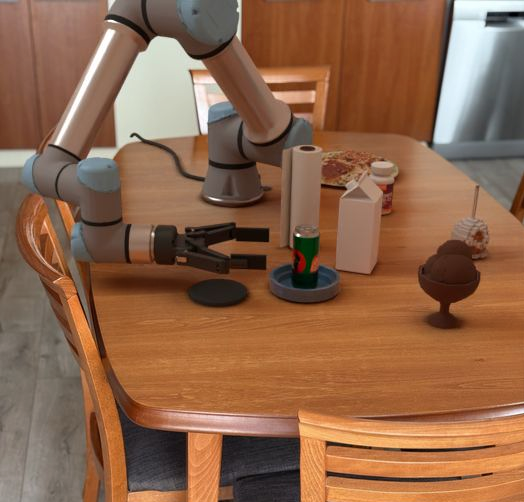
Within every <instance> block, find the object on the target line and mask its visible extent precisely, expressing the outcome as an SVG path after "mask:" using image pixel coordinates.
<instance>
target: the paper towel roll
mask: <svg viewBox="0 0 524 502" xmlns="http://www.w3.org/2000/svg"><path fill="white" fill-rule="evenodd" d="M322 153H323V148H322V147H320V146H317V145H313V144H312V145H300V146H295V147H291V148H289V149H286V150H283V159H282V169H281V196H280V197H281V198H280V228H279V229H280V235H279V248H284V247H286V246H288V245H289V248H290V249H292V250H293V232H294V231H295V227H296V226H298V225H301V224H311V225H315V226H317V227H318V229H319V227H320V205H321V190H322V189H321V188H322V187H321V186H322V184H321V170H322ZM319 230H320V229H319Z"/></svg>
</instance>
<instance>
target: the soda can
mask: <svg viewBox="0 0 524 502" xmlns="http://www.w3.org/2000/svg"><path fill="white" fill-rule="evenodd" d="M320 249H321V232H320V229H318V227H317V226H315V225H311V224H301V225H298V226H296V227H295V231H294V232H293V249H292V251H291V252H292V254H291V263H292V279H291V285H292V286H293V288H298V289H315V288H316V287H317V286H318V270H319V264H320Z"/></svg>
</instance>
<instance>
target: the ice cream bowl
mask: <svg viewBox="0 0 524 502" xmlns="http://www.w3.org/2000/svg"><path fill="white" fill-rule="evenodd" d="M481 273H482V272H481V271H479V270H477V267H476V264H475V262H474V261H473V259H472V249H471V248H470V247H469V246H468V245H467V244H466V243H465V242H463V241H461V240H450V239H447V240H446V241H445V242H443V243H442V244H441V245H439V246H438V247H437V249H436V253H434V254H433V255H431V256H429V257H428V258H427V260H425V263H423V264H421V265H419V266H418V270H417V282H418V284H419V286H420V288H421V290H422V291H423V292H424V293H425V294H426V295H428V296H429V297H430V298H431V299H433V300H434V301H436V302H439V310H438V311H435V312H433V313H431V314H429V315H428V317H427V323H428V324H430V325H431V326H432V327H435V328H439V329H453V328H456V327H457V326H458V325H459V318H458V317H456V316H455V315H453V314H452V313H451V312H450V307H451V305H452V304H456V303H459V302H460V301H463V300H465V299H467V298H469V297H471V296H472V295H473V294H475V292H476V291H477V289H478V288H479V285H480V282H481V276H482V275H481Z"/></svg>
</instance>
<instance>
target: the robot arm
mask: <svg viewBox="0 0 524 502" xmlns="http://www.w3.org/2000/svg"><path fill="white" fill-rule="evenodd" d="M238 1H239V0H114V1H113V3H112V5H111V6H110V8H109V10H108V12H107V13H106V15H105V17H104V19H103V21H102V23H101V27H102V31H103V33H102V35H101V37H100V39H99V41H98V43H97V45H96V47H95V49H94V51H93V53H92V55H91V57H90V59H89V61H88V63H87V65H86V67H85V69H84V71H83V73H82V75H81V77H80V79H79V81H78V83H77V86H76V87H75V89H74V91H73V93H72V95H71V97H70V100H69V101H68V103H67V105H66V107H65V109H64V111H63V113H62V115H61V117H60V119H59V121H58V123H57V125H56V127H55V130H54V131H53V133H52V135H51V137H50V139H49V141H48V143H47V146H46V147H45V149H44V151H43V153H35V154H33V155H31V156H30V157H29V158H27V159H26V160H25V162H24V164H23V166H22V171H21V172H22V173H21V174H22V176H21V177H22V181H23V183H24V185H25V186H26V188H27V189H28V190H29V191H31V192H34V193H35V194H38V195H39V196H42V197H44V198H48V199H52V200H56V201H60V202H63V203H65V204H68V205H72V206H75V207H77V208H78V207H79V208H80V217H81V221H78V222H75V223H74V224H73V225H72V228H71V231H70V250H71V254H72V257H73V258H74V259H75V260H76V261H79V262H83V263H93V264H97V265H98V264H128V265H130V264H133V265H138V266H140V267H143V266H144V265H153V264H154V263H155V264H156V265H158V266H175V265H176V266H181V267H190V268H194V269H197V270H201V271H206V272H210V273H214V274H218V275H230V272H231V270H245V271H246V270H248V271H267V256H268V255H267V254H257V253H256V254H255V253H254V254H253V253H230V255H227V254H225V253H222V252H220V251H217V250H214V249H211V248H210V246H214V245H216V244H221V243H225V242H230V241H233V240H235V242H238V243H239V242H240V243H241V242H242V243H268V244H269V243H270V230H271V229H270V227H250V226H249V227H248V226H247V227H246V226H237V222H235V221H230V222H223V223H216V224H215V223H213V224H207V225H200V226H199V225H198V226H186V227H184V233H179V232H178V228H177V226H176V225H174V224H157V225H156V226H155V225H154V224H153V223H124V221H123V220H124V219H123V204H122V201H123V199H122V181H121V175H120V168H119V164H118V163H117V162H116V160H114V159H112V158H109V157H100V156H96V157H95V156H94V157H93V156H92V157H88V156H89V154H90V152H91V150H92V148H93V147H94V144H95V142H96V140H97V138H98V136H99V134H100V132H101V130H102V128H103V126H104V124H105V123H106V120H107V118H108V116H109V114H110V112H111V110H112V108H113V106H114V104H115V102H116V100H117V98H118V96H119V94H120V92H121V90H122V88H123V86H124V84H125V82H126V80H127V78H128V76H129V74H130V72H131V70H132V69H133V66H134V64H135V62H136V60H137V57H138V56H139V54H140V53H144V52H147V50H148V48H149V46H150V44H151V42H152V41H153V40H154V39H155V38H157V37H160V38H161V37H162V38H169V39H174V40H175V41H177V42H178V44H179V45H180V46H181V49H182V50H183V51H184V52H185V53H186V55H187V56H188V57H189V58H190V59H192V60H195V61H201V63H202V65H203V66H204V67H205V68H206V70H207V72H208V73H209V74H210V76H211V77H212V78H213V80H214V82H215V83H216V85H217V86H218V87H219V89H220V90H221V92H222V93H223V95H224V96H225V98H226V99H227V100H226V101H225V100H224V101H221V102H216V103H214V104H212V105H210V107H209V109H208V111H207V121H206V125H207V152H208V153H207V154H208V155H207V156H208V167H207V170H206V174H205V176H199V175H194V174H191V173H189V172H186V171H184V170H183V167H182V164H181V163H180V159H179V157H178V156H177V155H178V154H176V152H175V151H174V150H173V149H172V148H170V147H168V146H166V145H165V144H162V143H160V142H157V141H153V140H150V139H147V138H144V137H142V136H141V135H140V134H139V133H138V132H132V133H130V135H129V138H134V137H136V138H137V139H138V140H139V141H140V142H143V143H145V144H149V145H152V146H155V147H159V148H161V149H163V150H165V151H167V152H168V153H170V154H171V156H172V157H173V159H174V161H175V165H176V167H177V169H178V171H179V174H181V175H182V176H184V177H186V178H189V179H193V180H197V181H202V182H203V184H202V187H201V199H202V200H203V201H204V202H206V203H208V204H211V205H214V206H217V207H218V206H219V207H227V208H229V207H231V208H239V207H240V208H241V207H248V206H253V205H255V204H258V203H260V202H262V200H263V199H264V187H263V185H262V181H261V180H262V177H261V175H260V173H259V171H258V166H257V163H260V164H264V165H268V166H271V167H272V166H273V167H276V168H280V169H281V170H282V159H283V150H286V149H289V148H291V147H295V146H300V145H312V146H313V141H314V129H313V125H312V122H311V121H309V119H306V118H304V117H297V116H296V115H295V114H294V113H293V112H292V110H291V108H290V107H289V104H287V103H286V102H285V101H284V100H282V99H279V98H276V97H275V95H274V93H273V91H272V90H271V89H270V87H269V85H268V84H267V82H266V81H265V79H264V77H263V76H262V74H261V72H260V71H259V69H258V68H257V66H256V64H255V63H254V61H253V60H252V58H251V56H250V55H249V54H248V52H247V50H246V48H245V47H244V45H243V44H242V42H241V40H240V39H239V37H238V36H237V34H238V28H239V21H240V12H239V11H238V8H239V7H240V6H239V2H238Z"/></svg>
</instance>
